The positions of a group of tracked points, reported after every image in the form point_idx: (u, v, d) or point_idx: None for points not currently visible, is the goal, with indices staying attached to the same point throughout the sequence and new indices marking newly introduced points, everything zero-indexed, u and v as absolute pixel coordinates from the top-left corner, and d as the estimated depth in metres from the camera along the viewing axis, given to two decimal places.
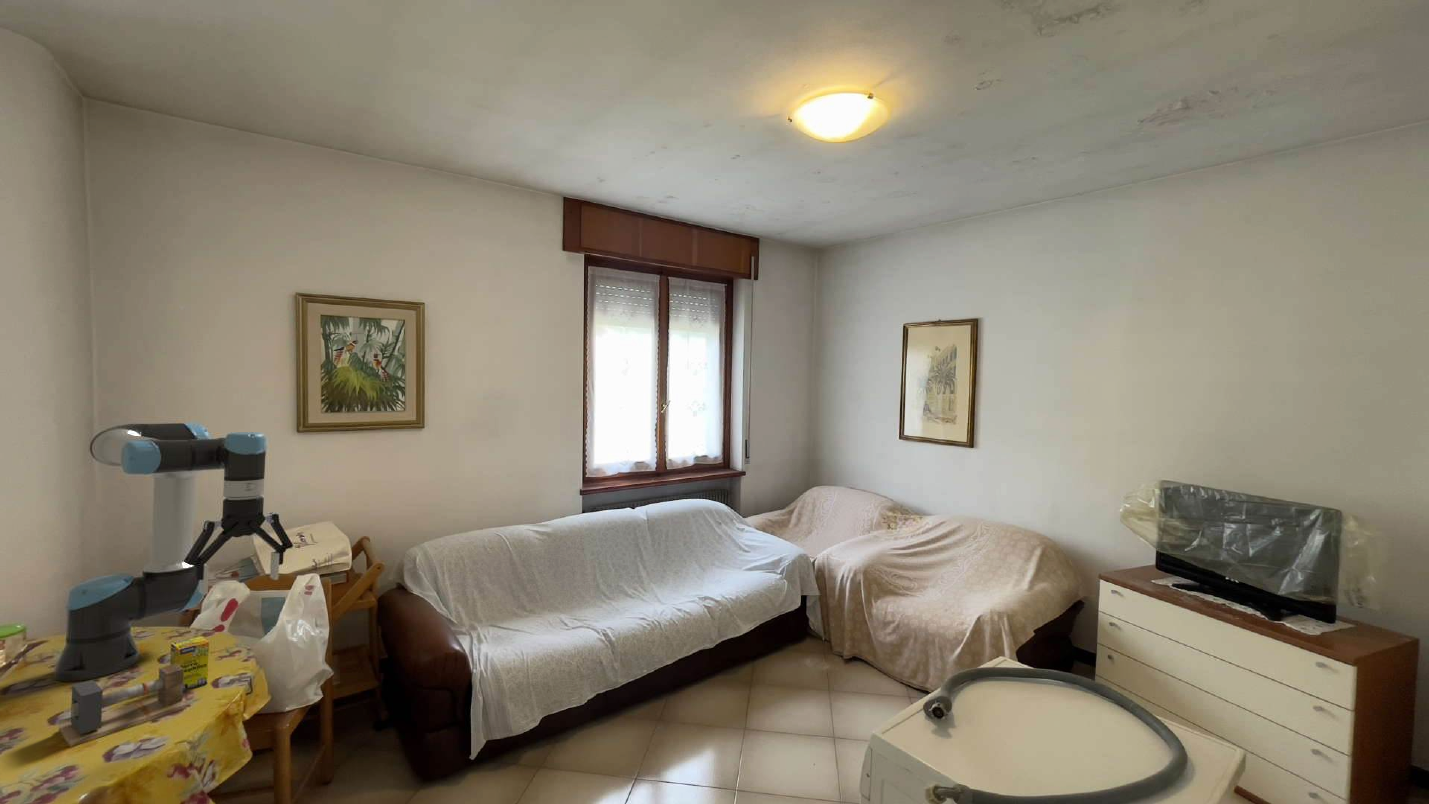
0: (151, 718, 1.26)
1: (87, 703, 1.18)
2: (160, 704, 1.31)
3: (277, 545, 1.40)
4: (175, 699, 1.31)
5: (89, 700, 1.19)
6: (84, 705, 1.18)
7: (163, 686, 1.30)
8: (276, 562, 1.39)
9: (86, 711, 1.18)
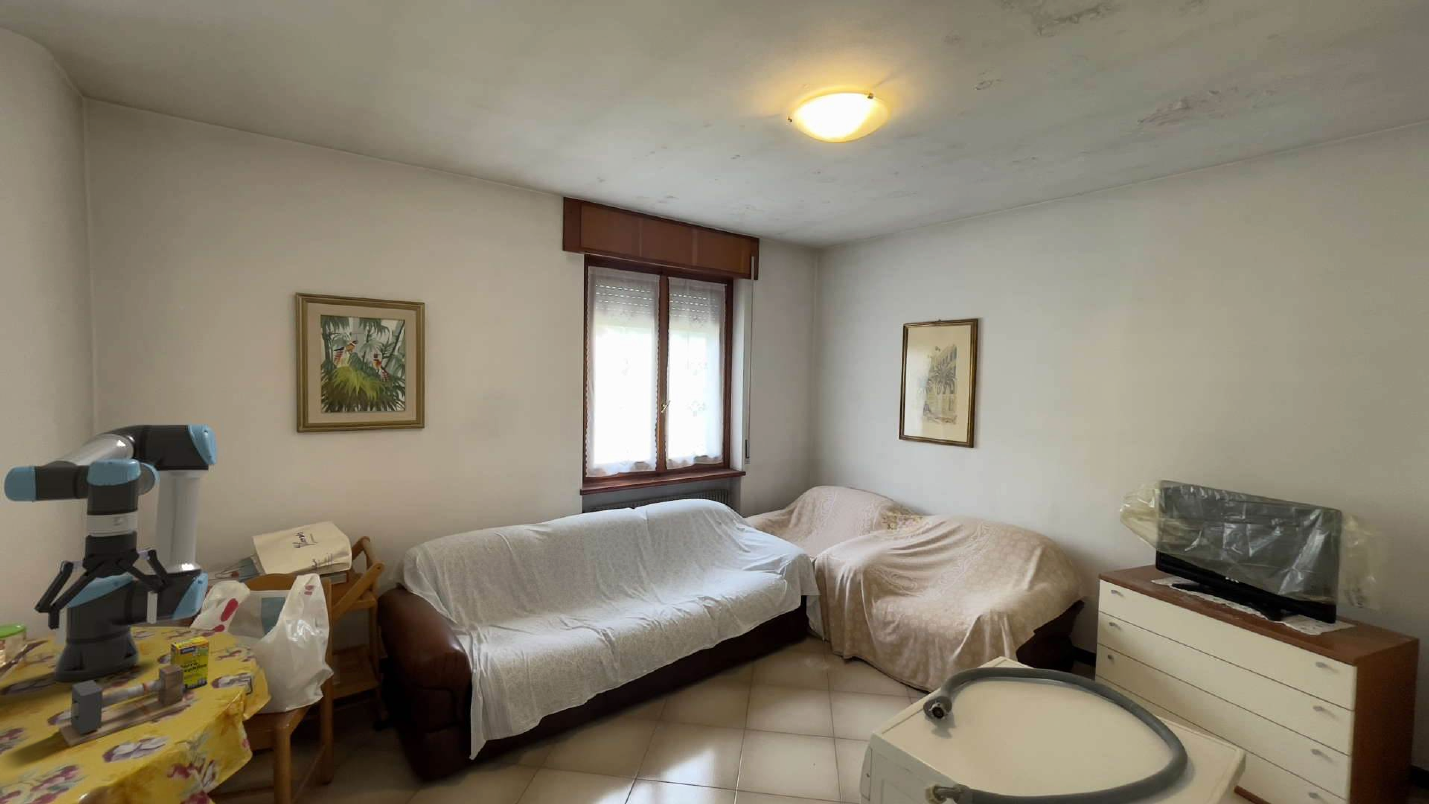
0: (151, 718, 1.26)
1: (87, 703, 1.18)
2: (160, 704, 1.31)
3: (155, 584, 1.25)
4: (175, 699, 1.31)
5: (89, 700, 1.19)
6: (84, 705, 1.18)
7: (163, 686, 1.30)
8: (153, 604, 1.24)
9: (86, 711, 1.18)
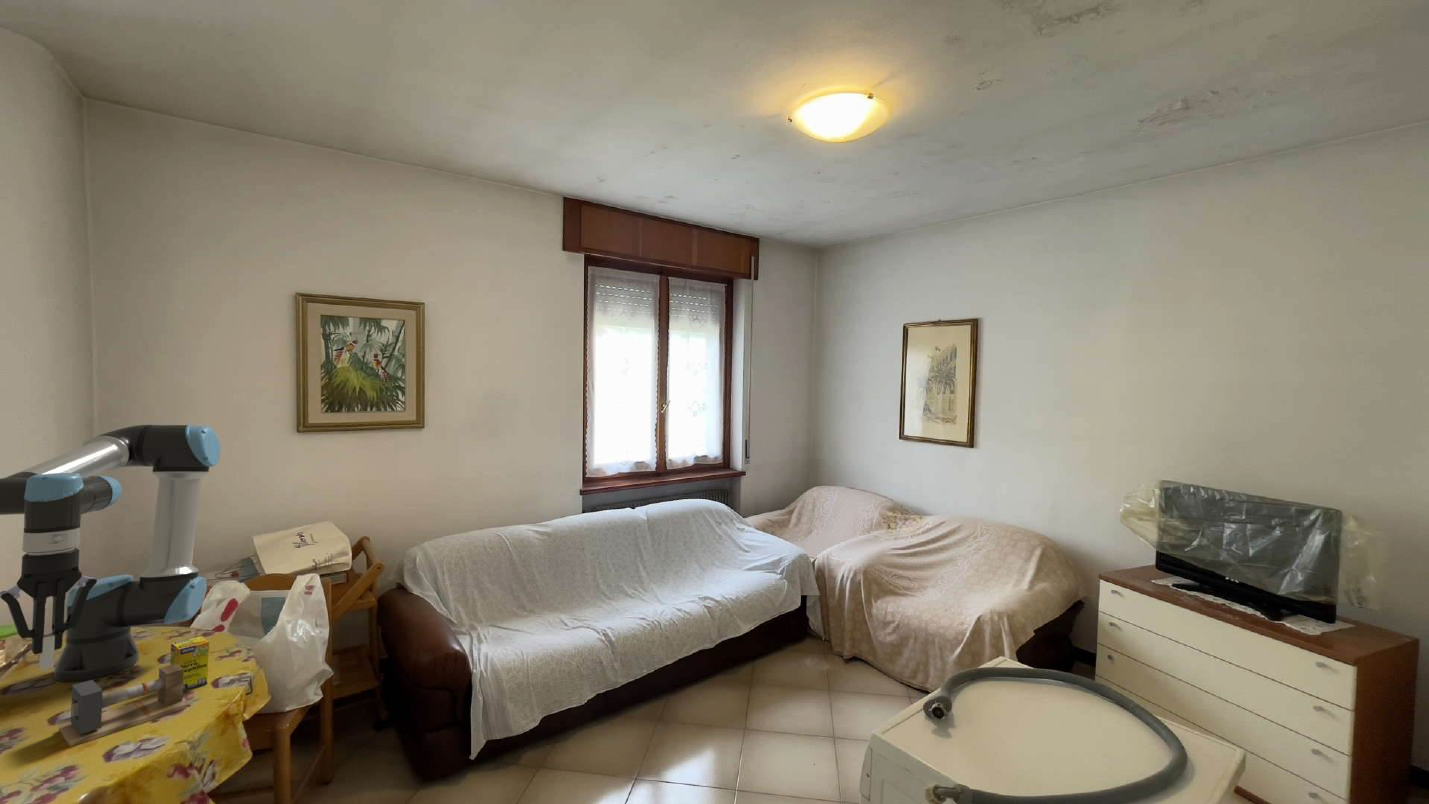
0: (151, 718, 1.26)
1: (87, 703, 1.18)
2: (160, 704, 1.31)
3: (60, 622, 1.14)
4: (175, 699, 1.31)
5: (89, 700, 1.19)
6: (84, 705, 1.18)
7: (163, 686, 1.30)
8: (50, 647, 1.13)
9: (86, 711, 1.18)
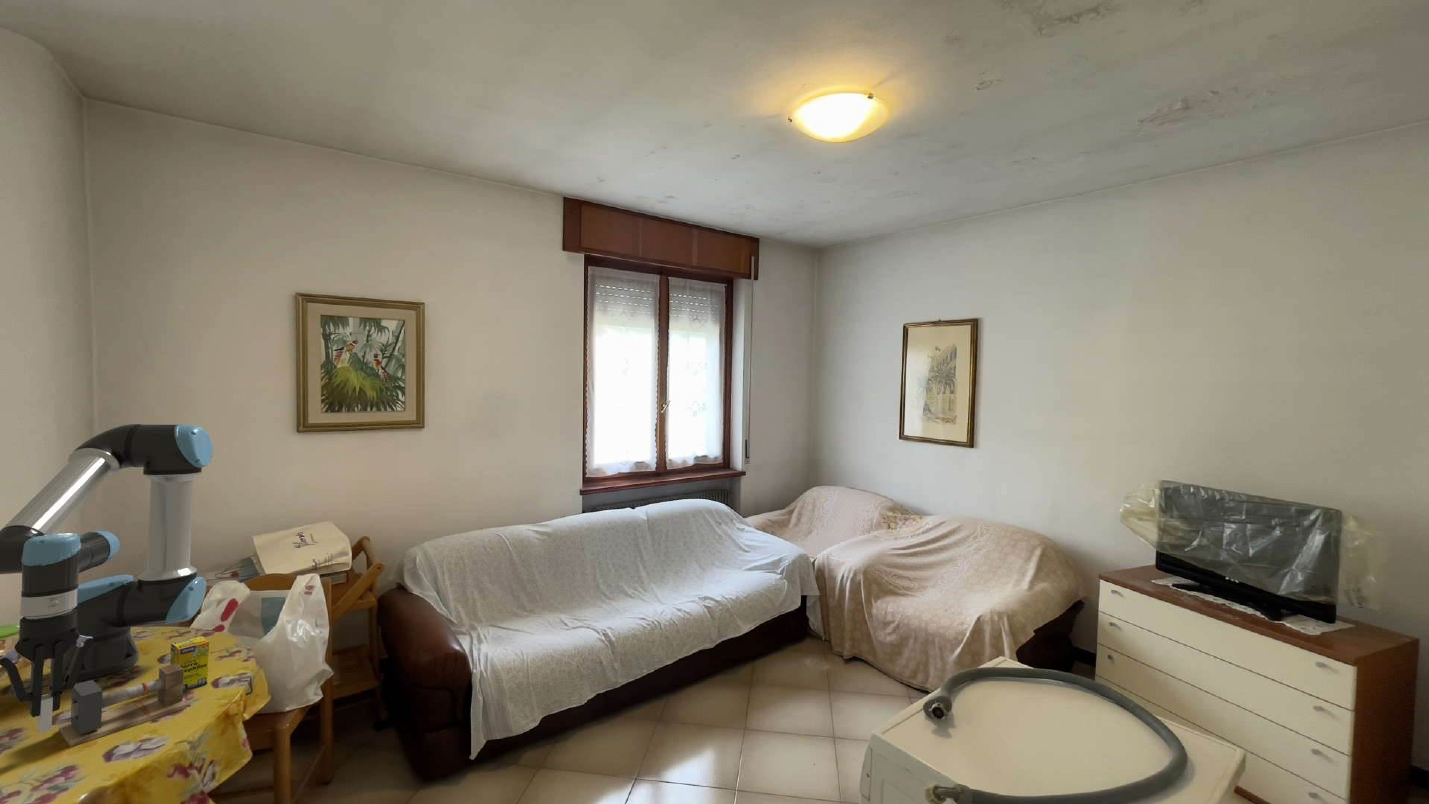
0: (151, 718, 1.26)
1: (87, 703, 1.18)
2: (160, 704, 1.31)
3: (58, 684, 1.14)
4: (175, 699, 1.31)
5: (89, 700, 1.19)
6: (84, 705, 1.18)
7: (163, 686, 1.30)
8: (48, 709, 1.13)
9: (86, 711, 1.18)
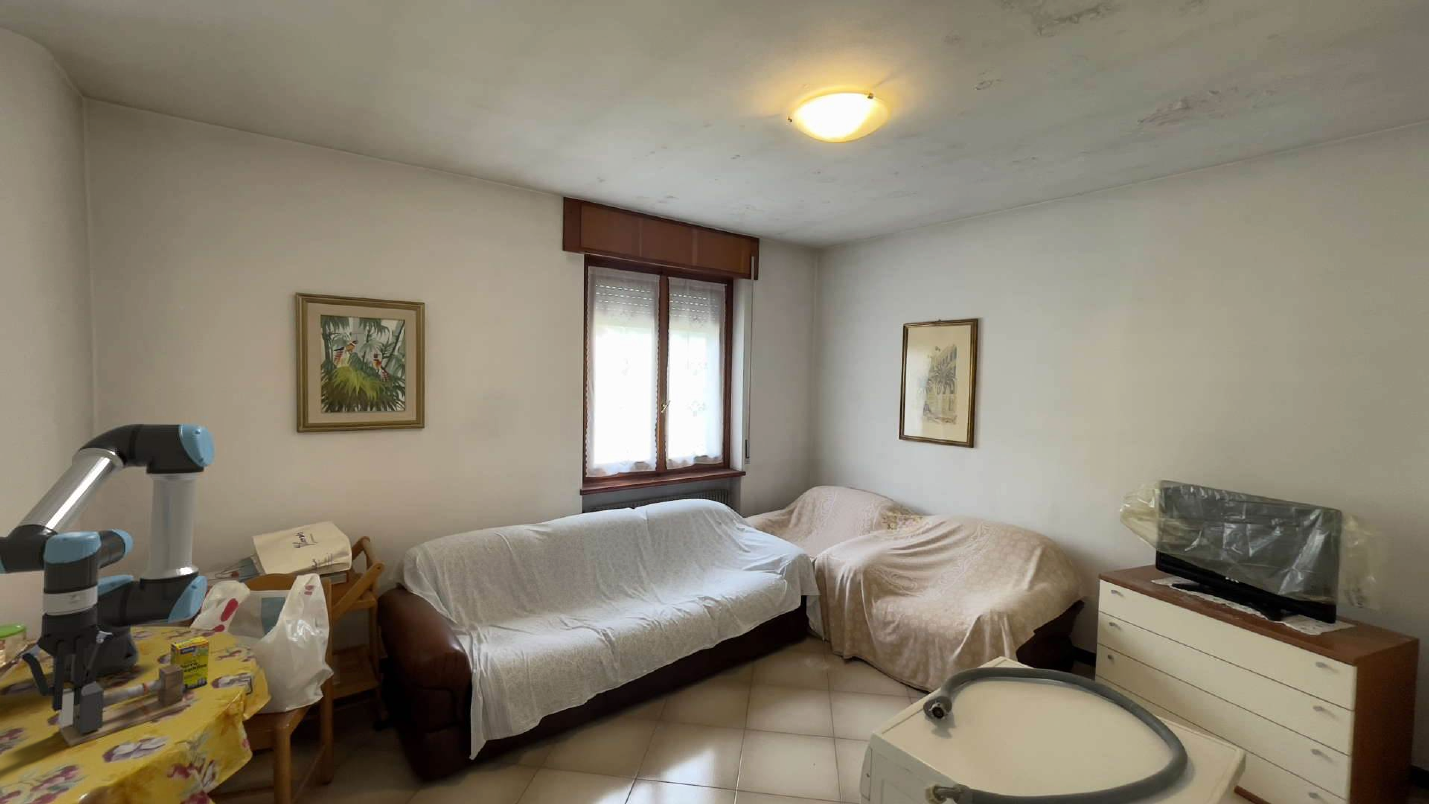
0: (151, 718, 1.26)
1: (88, 703, 1.19)
2: (160, 704, 1.31)
3: (79, 679, 1.17)
4: (175, 699, 1.31)
5: (90, 700, 1.19)
6: (85, 705, 1.18)
7: (163, 686, 1.30)
8: (69, 703, 1.15)
9: (87, 711, 1.19)
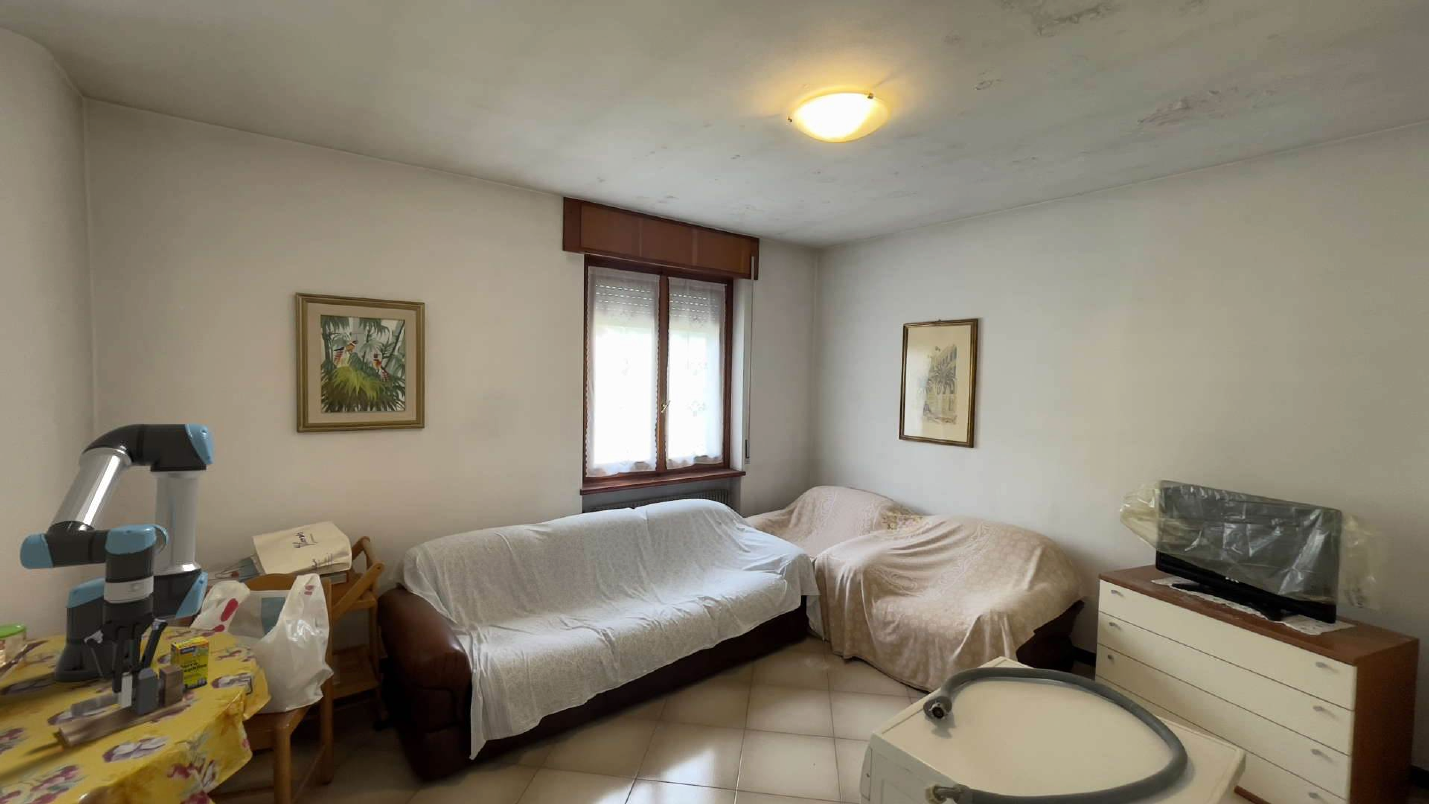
0: (151, 718, 1.26)
1: (144, 686, 1.26)
2: (160, 704, 1.31)
3: (137, 663, 1.24)
4: (175, 699, 1.31)
5: (146, 683, 1.26)
6: (142, 688, 1.25)
7: (163, 686, 1.30)
8: (128, 686, 1.23)
9: (144, 694, 1.26)
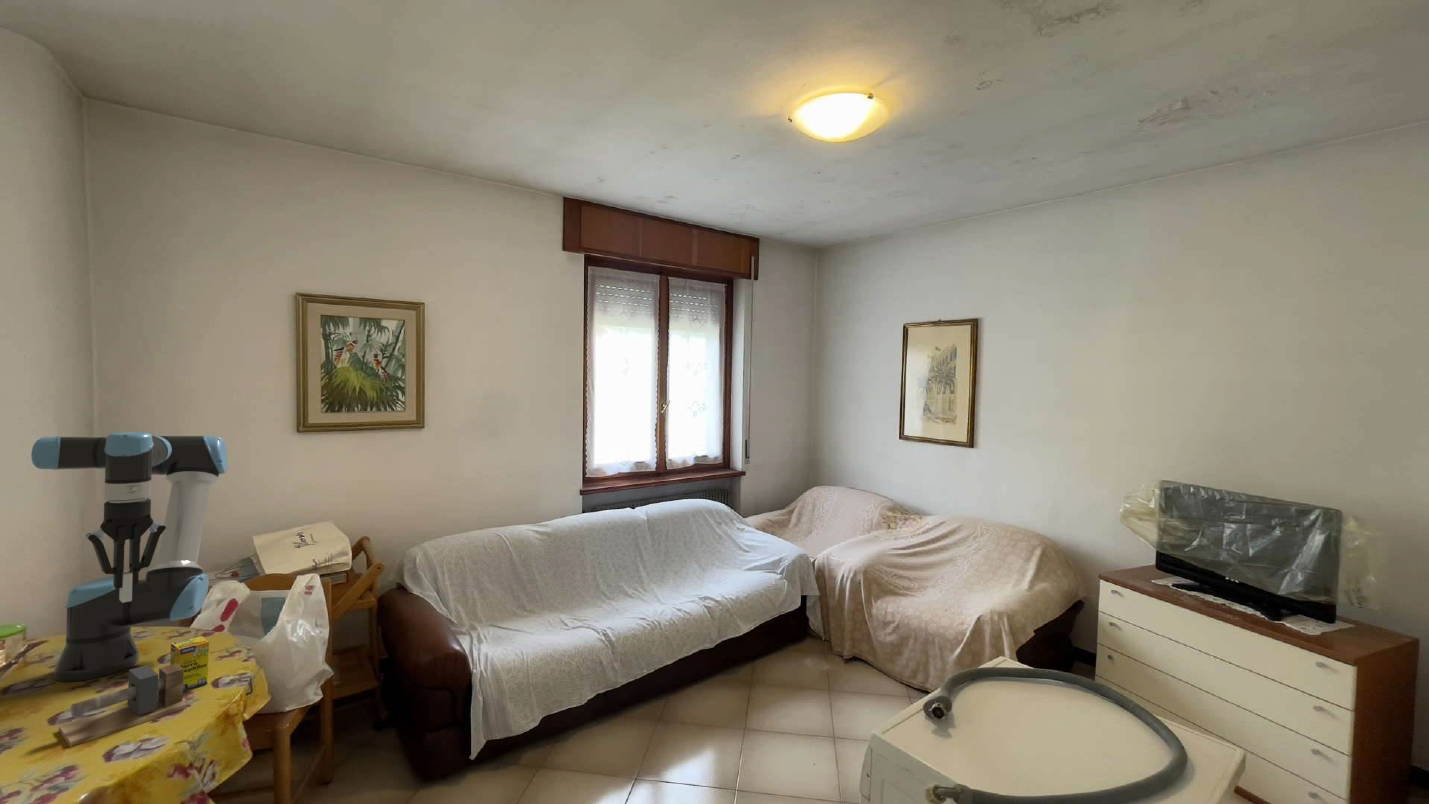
0: (151, 718, 1.26)
1: (144, 686, 1.26)
2: (160, 704, 1.31)
3: (136, 562, 1.31)
4: (175, 699, 1.31)
5: (146, 683, 1.26)
6: (142, 688, 1.26)
7: (163, 686, 1.30)
8: (129, 583, 1.30)
9: (144, 694, 1.26)
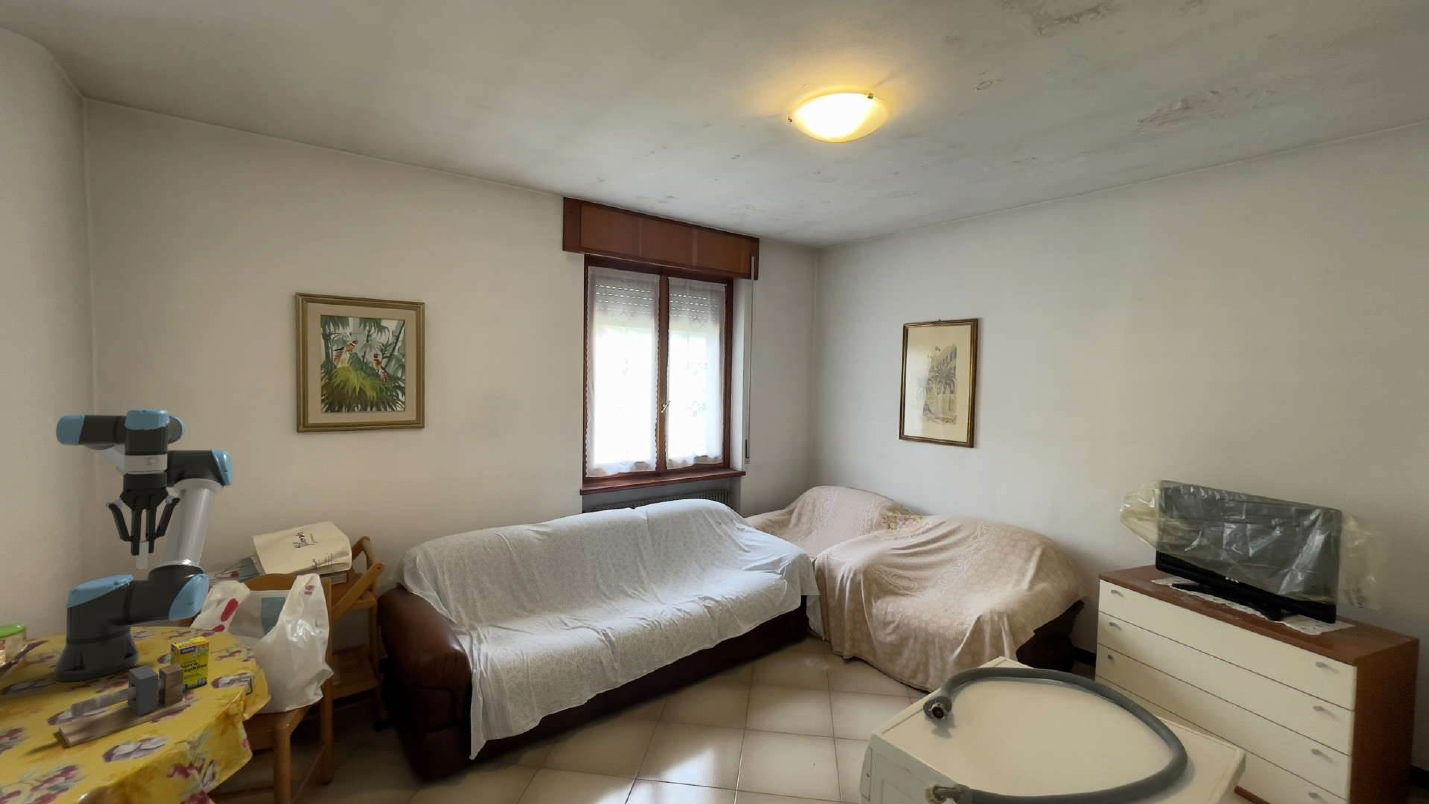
0: (151, 718, 1.26)
1: (144, 686, 1.26)
2: (160, 704, 1.31)
3: (152, 531, 1.39)
4: (175, 699, 1.31)
5: (146, 683, 1.26)
6: (142, 688, 1.26)
7: (163, 686, 1.30)
8: (145, 550, 1.37)
9: (144, 694, 1.26)
